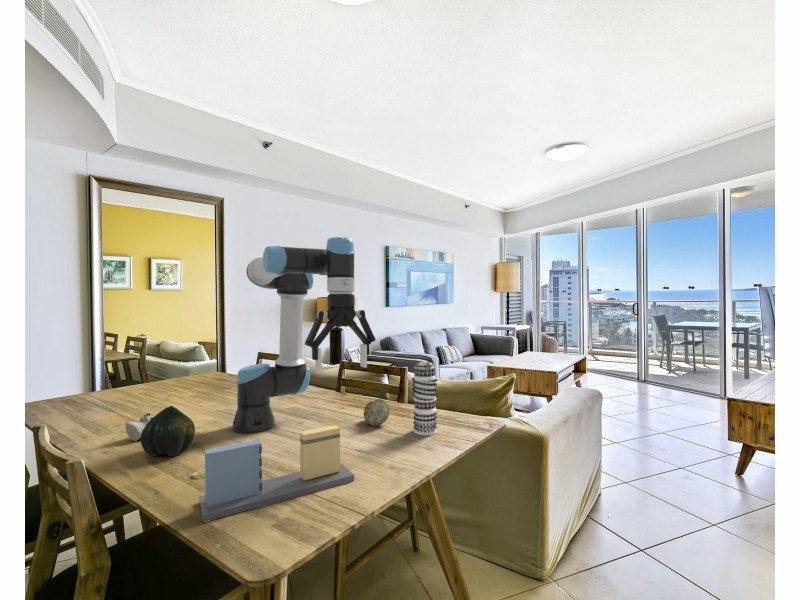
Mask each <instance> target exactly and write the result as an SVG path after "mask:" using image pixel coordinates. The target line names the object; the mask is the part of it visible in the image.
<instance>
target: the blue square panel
mask: <svg viewBox="0 0 800 600" xmlns="http://www.w3.org/2000/svg"><path fill="white" fill-rule="evenodd" d="M262 449H263V447H262V442H261V441H260V440H259V439H256V440H250V441H244V442H239V443H233V444H229V445H224V446H218V447H212V448H209V449H204V468H205V471H204V473H205V477H204V487H205V489H204V492H205V493H204V495H205V502H206V506H207V507H209V506H213V505H217V504H221V503H225V502H229V501H232V500H236V499H240V498H244V497H248V496H252V495H255V494H259V493H262V481H263V480H262V479H263V470H262V466H263V458H262V453H263V452H262V451H263V450H262Z"/></svg>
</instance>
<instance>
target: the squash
mask: <svg viewBox="0 0 800 600" xmlns="http://www.w3.org/2000/svg"><path fill="white" fill-rule="evenodd" d="M153 416H154V417H153V418H152V419H151V420H150V421H149V422H148V423H147V424H146V426H145V427H144V429H143V431H142V434H141V438H140V444H141V447H142V449H143V451H144V452H145V453H146V454H148V455H149V456H153V455H157V456H160V455H166V454H167V455H169V457H175V456H177V455H179V452H180V453H184V452H186V451H187V450H188V449H189V448H190V447H191V444H193V441H194V438H195V435H196V432H195V431H196V428H195V427H196V426H195V423H194V422H193V420H192V419H191V418H190V417H189V416H188V415H187V414H185V413H183V412H182V411H181V410H179V409H178V408H176V407H175V406H173V405H170V406H166V407H165V408H164V409H162V410H161V411H159V412H158V413H157V414H155V415H153Z"/></svg>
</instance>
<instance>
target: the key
mask: <svg viewBox="0 0 800 600" xmlns="http://www.w3.org/2000/svg"><path fill="white" fill-rule="evenodd" d="M204 469H205V467H203V468H202V469H200V471H202V470H204ZM198 472H199V470H198ZM198 472H197V471H195V472H194V473H192V474H191V477H192V476H193V477H202V476H205V472H201V473H199V474H196V473H198Z"/></svg>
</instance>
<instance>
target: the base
mask: <svg viewBox="0 0 800 600" xmlns="http://www.w3.org/2000/svg"><path fill="white" fill-rule="evenodd" d="M351 482H355V474H354V473H353V472H352V471H351V470H350V469H348V468H347V467H346V466H345V465H344V464H342V463H341V462H340V471H339V472H336V473H332V474H328V475H324V476H320V477H316V478H312V479H308V480H305V481H304V480H303V479H302V478H301V476H300V471H296V472H292V473H289V474H284V475H280V476H276V477H271V478H268V479H263V480H262V493H259V494H255V495H252V496H248V497H244V498H240V499H236V500H232V501H229V502H225V503H221V504H217V505H213V506H209V507H207V506H206V502H205V494H203V495H199V496H198V498H199V499H198V503H199V502H200V504H199V508H200V507H201V509H200V513H202V514H201V517H202V518H203V519H202V522H204V523H206V522H205V521H207V522H209V521H208V520H211V521H213V520H212V519H215V520H217V519H216V518H218V519H221V518H220V517H222V518H225V517H228V515H229V516H231V515H232V514H233V515H236V514H239V512H240V513H243V512H246V510H247V511H249V510H250V509H251V510H254V509H257V507H258V508H261V507H264V505H265V506H269V505H272V504H275V502H276V503H279V502H283V501H286V500H290V499H294V498H298V497H301V496H304V495H308V494H311V493H314V492H317V491H318V492H319V491H322V490H325V489H329V488H332V487H336V486H340V485H344V484H347V483H351ZM268 504H269V505H268ZM253 508H254V509H253ZM251 510H250V511H251ZM242 511H243V512H242ZM235 513H236V514H235ZM224 516H225V517H224Z"/></svg>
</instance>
